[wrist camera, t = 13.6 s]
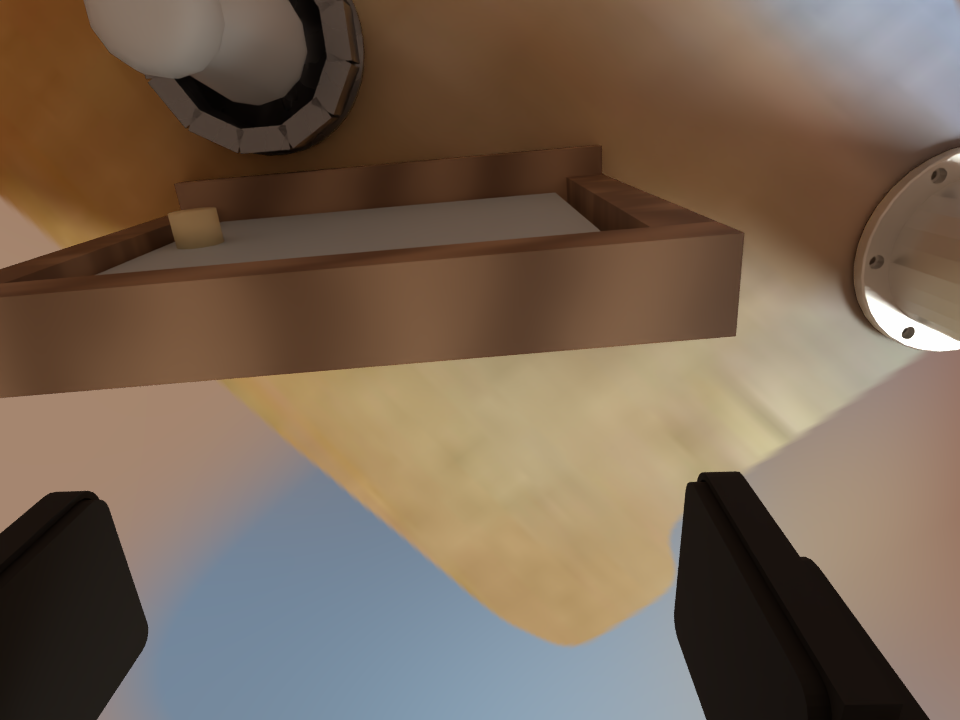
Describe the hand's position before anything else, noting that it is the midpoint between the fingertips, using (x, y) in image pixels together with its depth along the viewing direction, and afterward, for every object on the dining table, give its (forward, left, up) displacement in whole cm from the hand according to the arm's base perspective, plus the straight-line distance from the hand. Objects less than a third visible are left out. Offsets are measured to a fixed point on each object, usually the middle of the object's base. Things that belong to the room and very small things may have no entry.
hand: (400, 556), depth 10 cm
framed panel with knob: (+3, -2, -29) cm, 29 cm away
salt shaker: (+9, -11, -28) cm, 32 cm away
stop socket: (+9, -11, -29) cm, 32 cm away
